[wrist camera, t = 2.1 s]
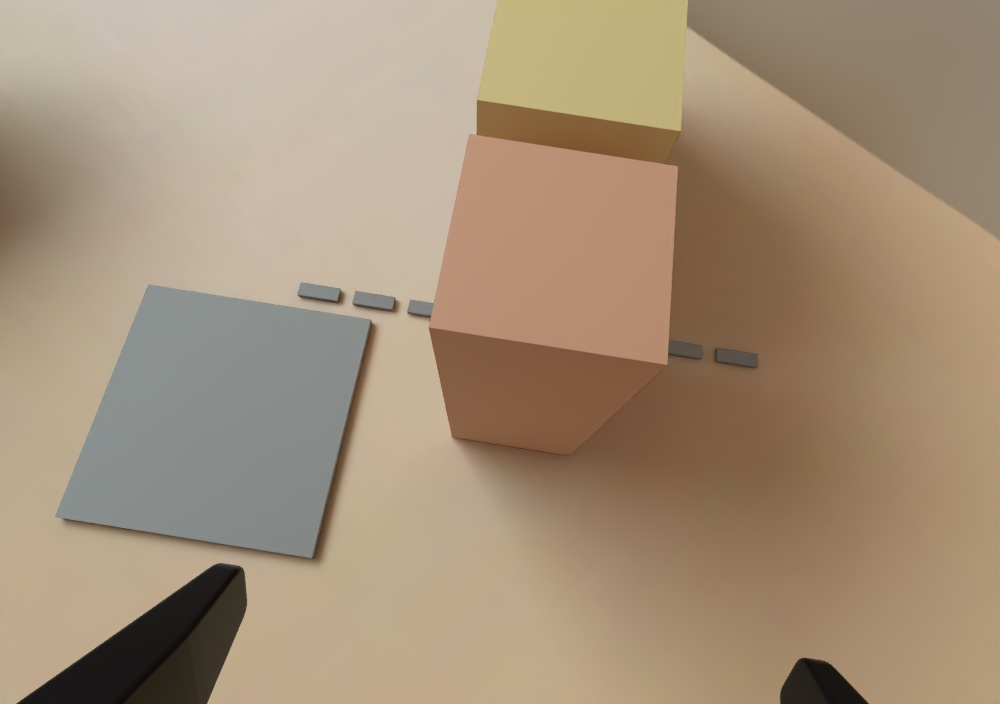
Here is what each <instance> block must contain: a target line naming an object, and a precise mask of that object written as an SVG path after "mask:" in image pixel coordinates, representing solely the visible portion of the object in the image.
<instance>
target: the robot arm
mask: <svg viewBox="0 0 1000 704" xmlns="http://www.w3.org/2000/svg"><path fill="white" fill-rule="evenodd" d="M246 607H247V594H246V583H245V573H244V570H243V568H242V567H240V566H236V565H230V564H223V563H219V564H215V565H213V566H212V567H210V568H209V569H207V570H206V571H204V572H203V573H201V574H200V575H199V576H197V577H196V578H194V579H193V580H192V581H190V582H189V583H187V584H186V585H184V586H183V587H182V588H180V589H179V590H177V591H176V592H174V593H173V594H172V595H170V596H169V597H167V598H166V599H165V600H163V601H162V602H160V603H159V604H157V605H156V606H155V607H153V608H152V609H150V610H149V611H147V612H146V613H145V614H143V615H142V616H140V617H139V618H137V619H136V620H135V621H133V622H132V623H130V624H129V625H128V626H126V627H125V628H123V629H122V630H120V631H119V632H118V633H116V634H115V635H113V636H112V637H110V638H109V639H108V640H106V641H105V642H103V643H102V644H100V645H99V646H98V647H96V648H95V649H93V650H92V651H91V652H89V653H88V654H86V655H85V656H83V657H82V658H81V659H79V660H78V661H76V662H75V663H73V664H72V665H71V666H69V667H68V668H66V669H65V670H63V671H62V672H61V673H59V674H58V675H56V676H55V677H54V678H52V679H51V680H49V681H48V682H46V683H45V684H44V685H42V686H41V687H39V688H38V689H36V690H35V691H34V692H32V693H31V694H29V695H28V696H26V697H25V698H24V699H22V700H21V701H19V702H18V703H17V704H207V702H208V700H209V698H210V695H211V693H212V691H213V688H214V686H215V684H216V681H217V679H218V676H219V674H220V672H221V669H222V667H223V665H224V662H225V660H226V658H227V655H228V653H229V650H230V648H231V646H232V643H233V641H234V639H235V636H236V634H237V632H238V629H239V627H240V624H241V622H242V620H243V617H244V614H245V611H246ZM780 703H781V704H869V703H868V702H867V701H866V700H865V699H864V698H863V697H862V696H861V695H860V694H859V693H858V692H857V691H856V690H855V689H854V688H853V687H852V686H851V685H850V684H849V683H848V681H847V680H846V679H845V678H844V677H843V676H842V675H841V674H840V673H839V672H838V671H837V670H836V669H835V668H834V667H833V666H832V665H831V664H829V663H827V662H825V661H822V660H816V659H810V658H801V659H799V660H798V661H797V662H796V664H795V665H794V667H793V669H792V671H791V672H790V674H789V676H788V678H787V679H786V681H785V683H784V685H783V686H782V689H781V693H780Z"/></svg>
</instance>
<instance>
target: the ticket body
mask: <svg viewBox="0 0 1000 704" xmlns="http://www.w3.org/2000/svg"><path fill="white" fill-rule="evenodd" d="M687 6H688V0H498V1H497V6H496V11H495V16H494V20H493V25H492V30H491V35H490V40H489V44H488V49H487V54H486V59H485V64H484V68H483V73H482V78H481V83H480V88H479V92H478V97H477V135H479V136H485V137H492V138H498V139H504V140H511V141H517V142H524V143H530V144H537V145H543V146H550V147H556V148H563V149H569V150H576V151H582V152H589V153H595V154H602V155H608V156H615V157H621V158H628V159H634V160H641V161H647V162H654V163H660V164H665V162H666V160H667V158H668V156H669V154H670V152H671V150H672V148H673V146H674V144H675V142H676V140H677V138H678V136H679V134H680V132H681V120H682V101H683V82H684V63H685V44H686V25H687Z"/></svg>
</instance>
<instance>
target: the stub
mask: <svg viewBox="0 0 1000 704" xmlns="http://www.w3.org/2000/svg"><path fill="white" fill-rule="evenodd" d="M677 176H678V166H673V165H667V164H660V163H654V162H647V161H641V160H634V159H628V158H621V157H615V156H608V155H602V154H595V153H589V152H582V151H576V150H569V149H563V148H556V147H550V146H543V145H537V144H530V143H524V142H517V141H511V140H504V139H498V138H492V137H485V136H479V135H472V134H469V138H468V143H467V148H466V152H465V157H464V162H463V167H462V171H461V176H460V181H459V186H458V191H457V195H456V200H455V205H454V210H453V214H452V219H451V224H450V229H449V234H448V238H447V243H446V248H445V253H444V257H443V262H442V267H441V272H440V277H439V281H438V286H437V291H436V296H435V300H434V305H433V310H432V315H431V320H430V324H429V330H430V335H431V340H432V345H433V349H434V354H435V359H436V363H437V368H438V373H439V378H440V382H441V387H442V392H443V397H444V401H445V406H446V411H447V416H448V420H449V425H450V430H451V435H452V437H454V438H460V439H467V440H473V441H479V442H486V443H492V444H498V445H504V446H511V447H517V448H523V449H530V450H536V451H542V452H548V453H555V454H561V455H567V456H570V455H571V454H572V453H573V452H574V451H576V450H577V449H578V448H579V447H580V446H581V445H582V444H583V443H584V442H585V441H586V440H587V439H588V438H589V437H591V436H592V435H593V434H594V433H595V432H596V431H597V430H598V429H599V428H600V427H601V426H602V425H603V424H604V423H606V422H607V421H608V420H609V419H610V418H611V417H612V416H613V415H614V414H615V413H616V412H617V411H618V410H620V409H621V408H622V407H623V406H624V405H625V404H626V403H627V402H628V401H629V400H630V399H631V398H632V397H633V396H635V395H636V394H637V393H638V392H639V391H640V390H641V389H642V388H643V387H644V386H645V385H646V384H647V383H649V382H650V381H651V380H652V379H653V378H654V377H655V376H656V375H657V374H658V373H659V372H660V371H661V370H662V369H664V368H665V367H666V366H667V364H668V345H669V326H670V307H671V289H672V270H673V251H674V232H675V214H676V195H677Z"/></svg>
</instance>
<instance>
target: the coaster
mask: <svg viewBox="0 0 1000 704" xmlns="http://www.w3.org/2000/svg"><path fill="white" fill-rule="evenodd" d="M371 324H372V321H371V320H370V319H364V318H357V317H351V316H345V315H338V314H332V313H326V312H319V311H313V310H307V309H300V308H294V307H287V306H281V305H275V304H268V303H262V302H256V301H249V300H243V299H237V298H230V297H224V296H218V295H211V294H205V293H199V292H192V291H186V290H180V289H173V288H167V287H161V286H154V285H148V287H147V289H146V292H145V294H144V297H143V299H142V302H141V304H140V307H139V309H138V312H137V314H136V317H135V319H134V322H133V324H132V327H131V329H130V332H129V334H128V336H127V339H126V341H125V344H124V346H123V349H122V351H121V354H120V356H119V359H118V361H117V364H116V366H115V369H114V371H113V374H112V376H111V379H110V381H109V384H108V386H107V389H106V391H105V394H104V396H103V399H102V401H101V404H100V406H99V409H98V411H97V414H96V416H95V419H94V421H93V424H92V426H91V429H90V431H89V434H88V436H87V439H86V441H85V444H84V446H83V449H82V451H81V454H80V456H79V459H78V461H77V464H76V466H75V468H74V471H73V473H72V476H71V478H70V481H69V483H68V486H67V488H66V491H65V493H64V496H63V498H62V501H61V503H60V506H59V508H58V511H57V513H56V516H55V517H59V518H65V519H71V520H77V521H83V522H90V523H96V524H102V525H108V526H115V527H121V528H127V529H133V530H139V531H146V532H152V533H158V534H164V535H170V536H177V537H183V538H189V539H195V540H201V541H208V542H214V543H220V544H226V545H233V546H239V547H245V548H251V549H257V550H264V551H270V552H276V553H282V554H288V555H295V556H301V557H307V558H314V555H315V551H316V547H317V543H318V539H319V535H320V531H321V527H322V522H323V518H324V514H325V510H326V506H327V502H328V498H329V494H330V490H331V486H332V482H333V478H334V474H335V470H336V466H337V462H338V458H339V454H340V450H341V445H342V441H343V437H344V433H345V429H346V425H347V421H348V417H349V413H350V409H351V405H352V401H353V397H354V393H355V389H356V385H357V381H358V377H359V372H360V368H361V364H362V360H363V356H364V352H365V348H366V344H367V340H368V336H369V332H370V328H371Z"/></svg>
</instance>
